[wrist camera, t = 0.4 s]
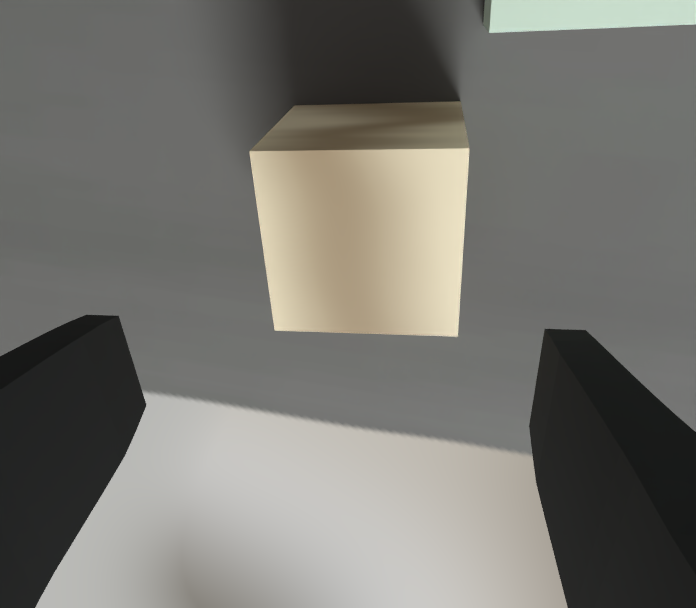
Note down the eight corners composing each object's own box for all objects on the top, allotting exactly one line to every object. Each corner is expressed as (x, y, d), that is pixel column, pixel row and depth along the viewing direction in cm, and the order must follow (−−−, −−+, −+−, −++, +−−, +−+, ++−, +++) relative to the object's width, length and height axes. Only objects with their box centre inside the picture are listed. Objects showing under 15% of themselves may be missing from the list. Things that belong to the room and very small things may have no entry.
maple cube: (460, 100, 16) (469, 148, 12) (452, 253, 19) (457, 336, 15) (295, 104, 17) (249, 151, 13) (309, 251, 20) (275, 330, 15)
